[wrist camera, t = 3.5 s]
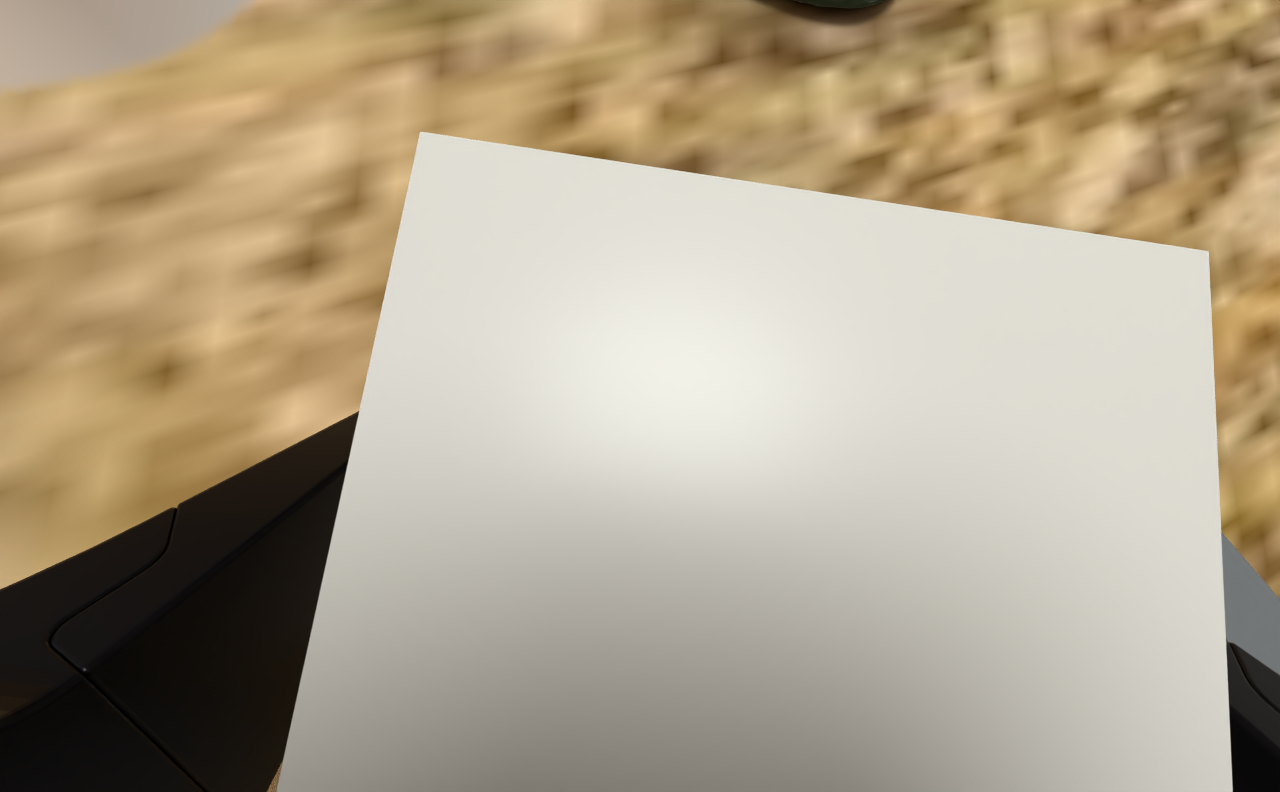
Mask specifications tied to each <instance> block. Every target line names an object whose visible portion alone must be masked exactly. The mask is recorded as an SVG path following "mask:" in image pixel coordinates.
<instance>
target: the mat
mask: <svg viewBox="0 0 1280 792" xmlns="http://www.w3.org/2000/svg"><path fill="white" fill-rule="evenodd" d="M1221 541H1222V563H1223V585H1224V608H1225V630H1226V638H1227V640H1228V642H1232V643H1235V644H1236V645H1238V646H1239V647H1240V648H1242V649H1243V650H1245V651H1246V652H1247V653H1249V654H1250V655H1252V656H1253V657H1255V658H1256V659H1257V660H1259V661H1260V662H1262V663H1263V664H1265V665H1266V666H1267V667H1269V668H1270V669H1272V670H1273V671H1275V672H1276V673H1278V674H1279V675H1280V599H1279V598H1278V597H1277V595H1276V594H1275V593H1274V592H1273V591H1272V590H1271V589H1270V587H1269V586H1268V585H1267V584H1266V583H1265V582H1264V581H1263V579H1262V578H1261V577H1260V576H1259V575H1258V574H1257V572H1256V571H1255V570H1254V569H1253V568H1252V567H1251V566H1250V564H1249V563H1248V562H1247V561H1246V560H1245V559H1244V558H1243V556H1242V555H1241V554H1240V553H1239V552H1238V551H1237V550H1236V548H1235V547H1234V546H1233V545H1232V544H1231V543H1230V542H1229V540H1228V539H1227V538H1226V537H1225V536H1224V535H1223V533H1222V532H1221Z"/></svg>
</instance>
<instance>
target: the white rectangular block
mask: <svg viewBox="0 0 1280 792" xmlns="http://www.w3.org/2000/svg"><path fill="white" fill-rule="evenodd" d="M276 792H1233V786H1232V764H1231V741H1230V719H1229V697H1228V675H1227V652H1226V630H1225V608H1224V585H1223V563H1222V541H1221V518H1220V496H1219V474H1218V452H1217V429H1216V407H1215V385H1214V362H1213V340H1212V318H1211V295H1210V273H1209V251H1203V250H1197V249H1190V248H1184V247H1177V246H1170V245H1164V244H1157V243H1151V242H1144V241H1138V240H1131V239H1124V238H1118V237H1111V236H1105V235H1098V234H1091V233H1085V232H1078V231H1072V230H1065V229H1058V228H1052V227H1045V226H1039V225H1032V224H1025V223H1019V222H1012V221H1006V220H999V219H993V218H986V217H979V216H973V215H966V214H960V213H953V212H946V211H940V210H933V209H927V208H920V207H913V206H907V205H900V204H894V203H887V202H880V201H874V200H867V199H861V198H854V197H848V196H841V195H834V194H828V193H821V192H815V191H808V190H801V189H795V188H788V187H782V186H775V185H768V184H762V183H755V182H749V181H742V180H735V179H729V178H722V177H716V176H709V175H703V174H696V173H689V172H683V171H676V170H670V169H663V168H656V167H650V166H643V165H637V164H630V163H623V162H617V161H610V160H604V159H597V158H591V157H584V156H577V155H571V154H564V153H558V152H551V151H544V150H538V149H531V148H525V147H518V146H511V145H505V144H498V143H492V142H485V141H478V140H472V139H465V138H459V137H452V136H446V135H439V134H432V133H426V132H420V136H419V140H418V145H417V149H416V154H415V159H414V163H413V168H412V172H411V177H410V182H409V186H408V191H407V195H406V200H405V204H404V209H403V214H402V218H401V223H400V227H399V232H398V236H397V241H396V246H395V250H394V255H393V259H392V264H391V269H390V273H389V278H388V282H387V287H386V291H385V296H384V301H383V305H382V310H381V314H380V319H379V324H378V328H377V333H376V337H375V342H374V346H373V351H372V356H371V360H370V365H369V369H368V374H367V378H366V383H365V388H364V392H363V397H362V401H361V406H360V411H359V415H358V420H357V424H356V429H355V433H354V438H353V443H352V447H351V452H350V456H349V461H348V465H347V470H346V475H345V479H344V484H343V488H342V493H341V498H340V502H339V507H338V511H337V516H336V520H335V525H334V530H333V534H332V539H331V543H330V548H329V553H328V557H327V562H326V566H325V571H324V575H323V580H322V585H321V589H320V594H319V598H318V603H317V607H316V612H315V617H314V621H313V626H312V630H311V635H310V640H309V644H308V649H307V653H306V658H305V662H304V667H303V672H302V676H301V681H300V685H299V690H298V694H297V699H296V704H295V708H294V713H293V717H292V722H291V727H290V731H289V736H288V740H287V745H286V749H285V754H284V759H283V763H282V768H281V772H280V777H279V781H278V786H277V791H276Z"/></svg>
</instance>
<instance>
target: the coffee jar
mask: <svg viewBox="0 0 1280 792" xmlns="http://www.w3.org/2000/svg"><path fill="white" fill-rule="evenodd" d="M795 1H799V2H803V3H807V4H811V5H815V6H818V7H837V8H863V7H868V6H872V5H877V4H880V3H882V2H884V1H886V0H795Z"/></svg>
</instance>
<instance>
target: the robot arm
mask: <svg viewBox="0 0 1280 792" xmlns="http://www.w3.org/2000/svg"><path fill="white" fill-rule="evenodd" d="M358 415H359V411H358V412H356V413H355V414H353V415H351V416H349V417H347V418H345V419H343V420H341V421H339V422H337V423H335V424H333V425H331V426H329V427H327V428H325V429H323V430H321V431H320V432H318V433H316V434H314V435H312V436H310V437H308V438H306V439H304V440H302V441H300V442H298V443H296V444H294V445H292V446H290V447H288V448H287V449H285V450H283V451H281V452H279V453H277V454H275V455H273V456H271V457H269V458H267V459H265V460H263V461H261V462H259V463H257V464H255V465H253V466H252V467H250V468H248V469H246V470H244V471H242V472H240V473H238V474H236V475H234V476H232V477H230V478H228V479H226V480H224V481H222V482H220V483H218V484H217V485H215V486H213V487H211V488H209V489H207V490H205V491H203V492H201V493H199V494H197V495H195V496H193V497H191V498H189V499H187V500H185V501H183V502H182V503H180V504H179V505H178V507H177V508H175V507H172V508H170V509H168V510H166V511H164V512H162V513H160V514H158V515H156V516H154V517H152V518H150V519H148V520H146V521H144V522H142V523H140V524H138V525H136V526H134V527H132V528H130V529H128V530H126V531H124V532H122V533H120V534H118V535H116V536H114V537H112V538H110V539H108V540H106V541H104V542H102V543H100V544H98V545H96V546H94V547H92V548H90V549H88V550H86V551H84V552H81V553H79V554H77V555H75V556H73V557H71V558H68V559H66V560H64V561H62V562H60V563H58V564H55V565H53V566H51V567H49V568H47V569H45V570H42V571H40V572H38V573H36V574H34V575H32V576H29V577H27V578H25V579H23V580H21V581H18V582H16V583H14V584H12V585H9V586H7V587H5V588H3V589H0V792H267V790H268V788H269V786H270V784H271V782H272V780H273V778H274V776H275V774H276V773H277V771H278V769H279V767H280V765H281V763H282V761H283V759H284V754H285V749H286V745H287V740H288V736H289V731H290V727H291V722H292V717H293V713H294V708H295V704H296V699H297V694H298V690H299V685H300V681H301V676H302V672H303V667H304V662H305V658H306V653H307V649H308V644H309V640H310V635H311V630H312V626H313V621H314V617H315V612H316V607H317V603H318V598H319V594H320V589H321V585H322V580H323V575H324V571H325V566H326V562H327V557H328V553H329V548H330V543H331V539H332V534H333V530H334V525H335V520H336V516H337V511H338V507H339V502H340V498H341V493H342V488H343V484H344V479H345V475H346V470H347V465H348V461H349V456H350V452H351V447H352V443H353V438H354V433H355V429H356V424H357V420H358ZM1226 652H1227V675H1228V697H1229V719H1230V741H1231V764H1232V786H1233V792H1280V675H1279V674H1278V673H1276V672H1275V671H1273V670H1272V669H1270V668H1269V667H1267V666H1266V665H1265V664H1263V663H1262V662H1260V661H1259V660H1257V659H1256V658H1255V657H1253V656H1252V655H1250V654H1249V653H1247V652H1246V651H1245V650H1243V649H1242V648H1240V647H1239V646H1238V645H1236V644H1235V643H1232V642H1228V640H1227V638H1226Z"/></svg>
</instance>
